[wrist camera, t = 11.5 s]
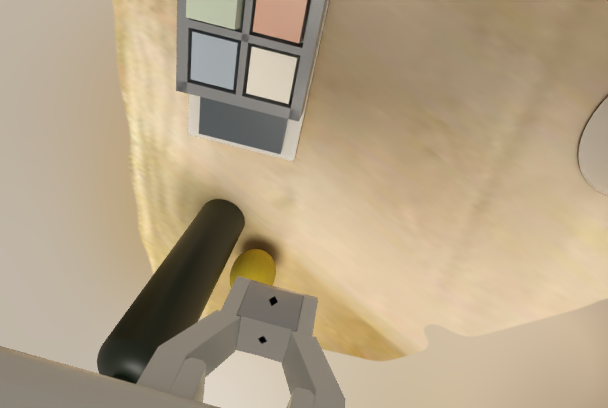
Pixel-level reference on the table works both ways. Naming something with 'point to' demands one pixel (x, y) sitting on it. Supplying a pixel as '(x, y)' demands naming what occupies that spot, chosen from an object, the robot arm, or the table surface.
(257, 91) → the key ivory
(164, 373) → the robot arm
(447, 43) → the table surface
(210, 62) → the key slate
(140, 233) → the table surface
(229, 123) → the keypad
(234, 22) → the key sage
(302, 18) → the key terracotta
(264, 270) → the lemon
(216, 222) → the wine bottle
